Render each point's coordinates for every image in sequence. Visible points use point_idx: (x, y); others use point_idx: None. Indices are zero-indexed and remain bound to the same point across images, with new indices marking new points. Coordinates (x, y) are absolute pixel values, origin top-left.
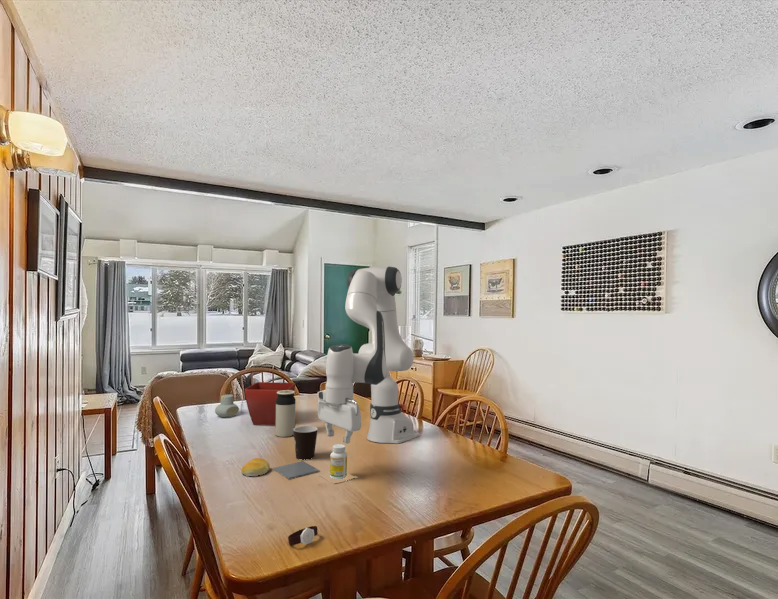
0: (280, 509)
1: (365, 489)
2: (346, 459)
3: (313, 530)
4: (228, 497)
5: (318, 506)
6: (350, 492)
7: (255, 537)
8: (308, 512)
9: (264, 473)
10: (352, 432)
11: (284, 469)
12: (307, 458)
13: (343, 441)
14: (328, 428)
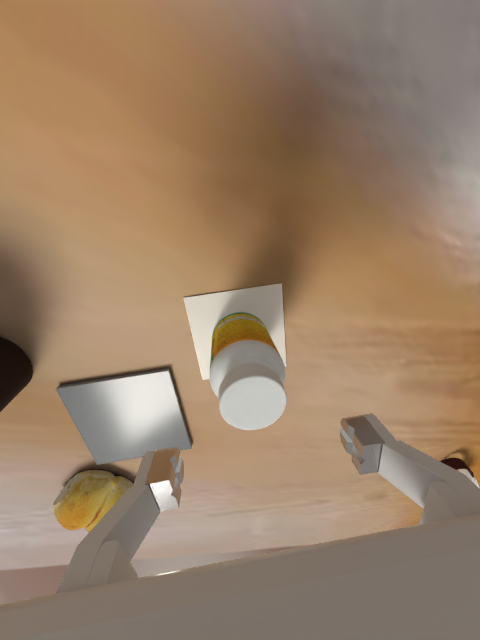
0: (331, 479)
1: (369, 305)
2: (273, 344)
3: (473, 476)
4: (229, 532)
5: None
6: (357, 348)
7: (388, 513)
8: None
9: (130, 482)
10: (465, 479)
11: (122, 446)
12: (29, 369)
13: (349, 448)
14: (145, 527)
